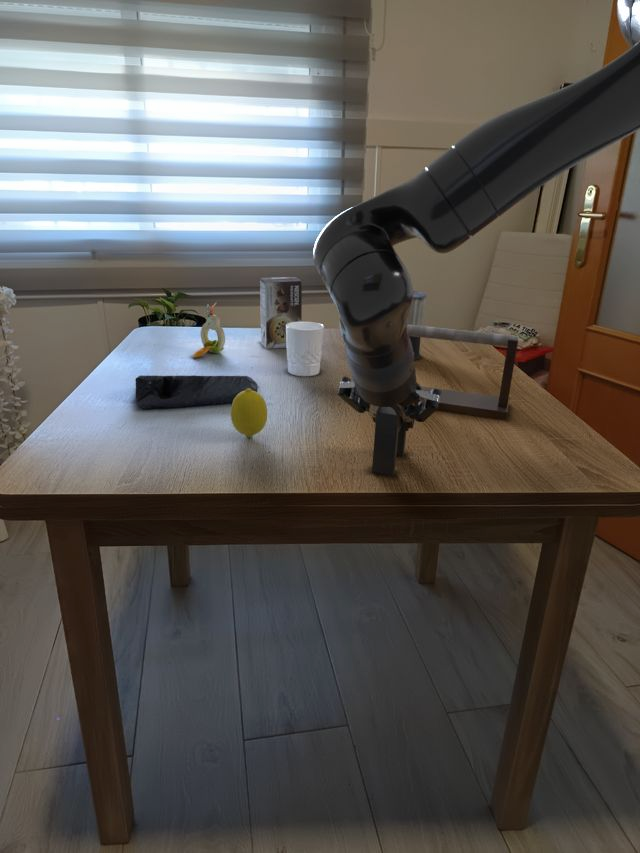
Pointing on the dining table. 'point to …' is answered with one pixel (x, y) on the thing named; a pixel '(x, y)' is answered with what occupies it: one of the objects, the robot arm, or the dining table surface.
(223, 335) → the rattle
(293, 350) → the white cup
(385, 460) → the dark grey hook
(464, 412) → the rail stand
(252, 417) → the lemon
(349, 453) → the dining table surface
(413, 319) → the milk frother
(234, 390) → the dark slate chunk
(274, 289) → the coffee box
